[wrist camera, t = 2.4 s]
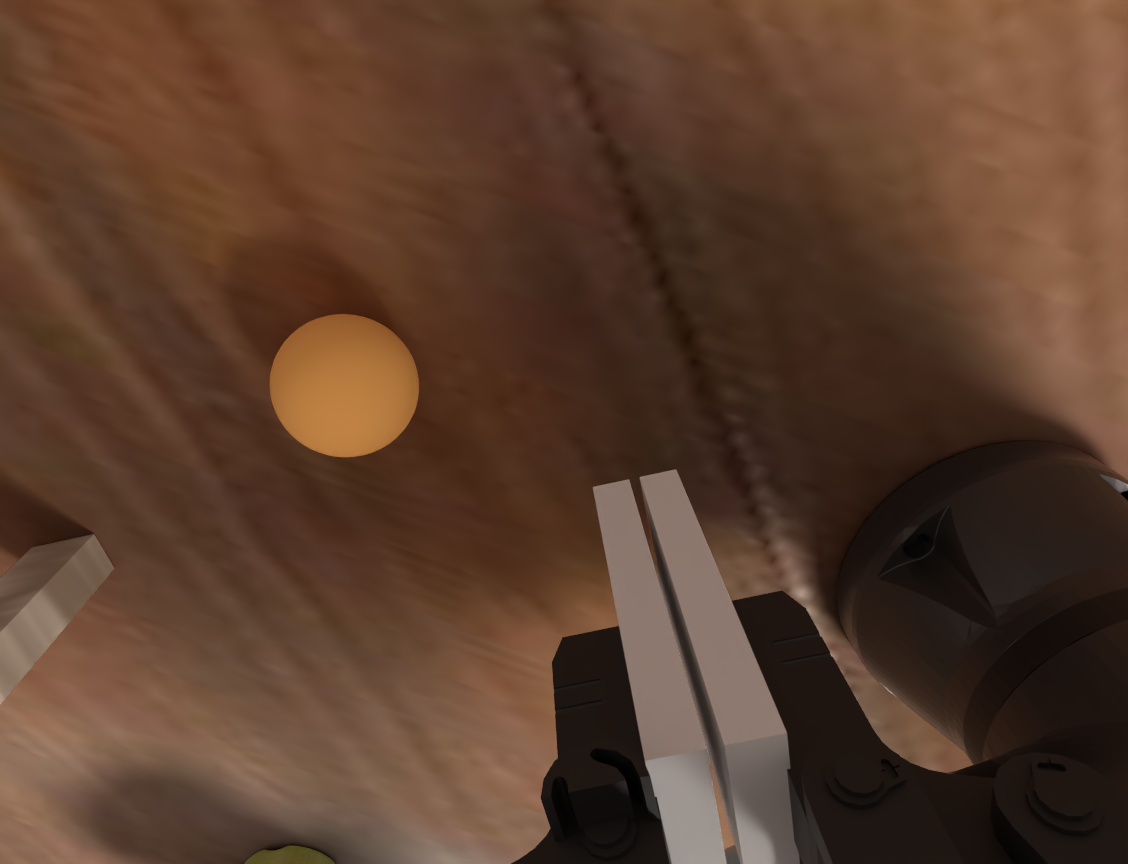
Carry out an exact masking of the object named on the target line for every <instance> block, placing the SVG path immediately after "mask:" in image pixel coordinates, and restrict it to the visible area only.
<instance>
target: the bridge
mask: <svg viewBox="0 0 1128 864" xmlns="http://www.w3.org/2000/svg"><path fill="white" fill-rule="evenodd" d="M114 569H115V568H114V566H113V565H112V563H111V561H110V560H109V558H108V556H107V555H106V553H105V551H104V550H103V548H102V547H101V545H100V543H99V542H98V540H97V538H96V537H95V535H94V534H92V535H87V536H82V537H78V538H73V539H68V540H64V541H59V542H55V543H50V544H45V545H41V546H36V547H32V548H31V549H30V550H29V551H28V552H27V553H26V554H24V555H23V556H22V557H21V558H20V559H19V560H18V561H17V562H16V563H15V564H14V565H13V566H12V567H11V568H10V569H9V570H8V571H6V572H5V573H4V574H3V575H2V576H1V577H0V704H1V703H2V702H3V701H4V700H5V698H6V697H7V696H8V695H9V694H10V693H11V691H12V690H13V689H14V688H15V687H16V685H17V684H18V683H19V682H20V681H21V679H22V678H23V677H24V676H25V675H26V673H27V672H28V671H29V670H30V669H31V668H32V666H33V665H34V664H35V663H36V662H37V660H38V659H39V658H40V657H41V656H42V654H43V653H44V652H45V651H46V650H47V648H48V647H49V646H50V645H51V644H52V643H53V641H54V640H55V639H56V638H57V637H58V635H59V634H60V633H61V632H62V631H63V629H64V628H65V627H66V626H67V625H68V624H69V622H70V621H71V620H72V619H73V618H74V616H75V615H76V614H77V613H78V612H79V610H80V609H81V608H82V607H83V606H84V604H85V603H86V602H87V601H88V600H89V599H90V597H91V596H92V595H93V594H94V593H95V591H96V590H97V589H98V588H99V587H100V585H101V584H102V583H103V582H104V581H105V579H106V578H107V577H108V576H109V575H110V574H111V572H112V571H113V570H114Z"/></svg>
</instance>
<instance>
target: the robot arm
mask: <svg viewBox="0 0 1128 864" xmlns="http://www.w3.org/2000/svg"><path fill="white" fill-rule="evenodd" d="M640 482H641V488H642V493H643V498H644V504H645V509H646V514H647V520H648V525H649V530H650V536H651V541H652V546H653V552H654V557H655V562H656V568H657V573H658V578H659V581H658V578H657V574H656V571H655V567H654V564H653V560H652V557H651V553H650V550H649V547H648V543H647V540H646V536H645V533H644V529H643V526H642V522H641V519H640V515H639V512H638V508H637V505H636V501H635V498H634V494H633V491H632V488H631V484H630V481H629V479H628V480H623V481H618V482H614V483H609V484H604V485H600V486H595V487H593V492H594V497H595V502H596V508H597V513H598V518H599V523H600V529H601V534H602V539H603V544H604V550H605V555H606V560H607V565H608V571H609V576H610V581H611V586H612V592H613V597H614V602H615V607H616V613H617V618H618V623H619V626H617V627H612V628H607V629H602V630H597V631H592V632H588V633H583V634H578V635H573V636H568V637H563V638H562V640H561V643H560V645H559V647H558V650H557V652H556V654H555V657H554V659H553V661H552V669H553V685H554V692H555V693H554V701H555V711H556V714H555V717H556V734H557V750H558V759H557V760H556V761H554V763H553V765H552V766H551V768H550V770H549V771H548V773H547V775H546V776H545V778H544V781H543V788H542V794H541V800H542V803H543V806H544V809H545V812H546V815H547V818H548V821H549V824H550V827H551V829H550V830H549V832H548V834H547V835H546V837H545V838H544V839H543V840H542V841H541V842H540V843H539V844H538V845H537V846H536V848H535V849H533V850H532V851H530V852H529V853H528V854H526V855H525V856H523V857H522V858H520V859H519V860H517V861H515V862H513V863H512V864H1128V480H1127V479H1126V478H1124V477H1123V476H1121V475H1120V474H1118V473H1117V472H1115V471H1114V470H1112V469H1110V468H1109V467H1107V466H1106V465H1104V464H1103V463H1101V462H1100V461H1098V460H1096V459H1095V458H1093V457H1091V456H1090V455H1088V454H1086V453H1084V452H1082V451H1080V450H1077V449H1074V448H1072V447H1069V446H1065V445H1061V444H1056V443H1051V442H1042V441H1013V442H1004V443H998V444H992V445H987V446H983V447H979V448H976V449H973V450H969V451H966V452H963V453H961V454H958V455H955V456H953V457H951V458H948V459H946V460H944V461H942V462H940V463H938V464H936V465H934V466H932V467H930V468H928V469H927V470H925V471H923V472H922V473H920V474H918V475H917V476H915V477H914V478H912V479H911V480H909V481H908V482H907V483H905V484H904V485H903V486H901V487H900V488H899V489H898V490H896V491H895V492H894V493H893V494H892V495H890V496H889V497H888V498H887V499H886V500H885V501H884V502H883V503H882V504H881V505H880V506H879V507H878V508H877V509H876V510H875V511H874V512H873V514H872V515H871V516H870V517H869V518H868V520H867V521H866V522H865V524H864V525H863V526H862V528H861V529H860V531H859V532H858V534H857V535H856V537H855V539H854V540H853V542H852V544H851V546H850V548H849V550H848V552H847V554H846V557H845V559H844V562H843V565H842V568H841V572H840V575H839V581H838V587H837V607H838V614H839V619H840V622H841V625H842V628H843V630H844V632H845V634H846V636H847V638H848V640H849V641H850V643H851V645H852V646H853V648H854V649H855V651H856V653H857V654H858V656H859V658H860V659H861V661H862V663H863V664H864V666H865V667H866V669H867V670H868V671H869V672H870V674H871V675H872V676H873V677H874V678H875V679H876V680H877V682H879V683H880V684H881V685H882V686H883V687H884V688H885V689H887V690H888V691H889V692H890V693H892V694H893V695H894V696H896V697H897V698H899V699H900V700H901V701H902V702H903V703H905V704H906V705H907V706H908V707H909V708H910V709H912V710H913V711H914V712H915V713H917V714H918V715H919V716H920V717H922V718H923V719H924V720H925V721H926V722H928V723H929V724H930V725H931V726H933V727H934V728H935V729H937V730H938V731H939V732H940V733H942V734H943V735H944V736H945V737H947V738H948V739H949V740H950V741H952V742H953V743H954V744H955V745H957V746H958V747H959V748H960V749H962V750H963V751H964V752H965V753H966V755H967V756H968V757H969V759H970V760H971V762H972V763H973V764H974V765H972V766H969V767H966V768H963V769H960V770H958V771H955V772H949V773H942V772H937V771H932V770H928V769H925V768H923V767H920V766H917V765H915V764H912V763H910V762H908V761H907V760H905V759H903V758H902V757H900V756H899V755H898V754H897V753H895V752H893V751H892V750H891V749H889V748H888V747H887V746H886V745H885V744H884V743H883V742H882V741H881V740H880V738H879V737H878V736H877V734H876V733H875V731H874V730H873V728H872V727H871V725H870V723H869V721H868V719H867V718H866V716H865V714H864V712H863V710H862V709H861V707H860V705H859V703H858V701H857V700H856V698H855V696H854V694H853V692H852V691H851V689H850V687H849V685H848V684H847V682H846V680H845V678H844V676H843V675H842V673H841V671H840V669H839V667H838V666H837V664H836V662H835V660H834V658H833V657H831V655H830V651H829V649H828V648H827V646H826V644H825V642H824V640H823V639H822V637H820V635H819V631H818V630H817V628H816V626H815V624H814V622H813V621H812V619H811V617H810V615H809V613H808V612H807V610H806V608H804V607H803V606H802V605H800V604H799V603H798V602H796V601H795V600H794V599H793V598H791V597H790V596H789V595H787V594H786V593H785V592H783V591H778V592H773V593H768V594H763V595H758V596H754V597H749V598H744V599H739V600H734V601H731V599H730V596H729V594H728V591H727V589H726V587H725V584H724V582H723V579H722V577H721V575H720V572H719V570H718V568H717V565H716V563H715V560H714V558H713V556H712V553H711V551H710V549H709V546H708V544H707V541H706V539H705V537H704V534H703V532H702V529H701V527H700V525H699V522H698V520H697V518H696V515H695V513H694V510H693V508H692V506H691V503H690V501H689V499H688V496H687V494H686V491H685V489H684V487H683V484H682V482H681V479H680V477H679V475H678V472H677V470H676V469H675V470H670V471H665V472H661V473H656V474H651V475H647V476H642V477H640ZM659 583H660V585H659ZM660 587H661V588H660ZM661 590H662V592H661ZM662 594H663V595H662ZM663 597H664V599H663ZM664 601H665V602H664ZM665 604H666V605H665ZM666 608H667V609H666ZM667 611H668V612H667ZM668 614H669V616H668ZM669 618H670V619H669ZM670 621H671V623H670ZM671 625H672V626H671ZM672 628H673V630H672ZM673 632H674V633H673ZM674 635H675V637H674ZM675 639H676V640H675ZM676 642H677V644H676ZM677 646H678V647H677ZM678 649H679V651H678ZM679 652H680V654H679ZM680 656H681V658H680ZM681 659H682V661H681ZM682 663H683V664H682ZM683 666H684V668H683ZM684 670H685V671H684ZM685 673H686V675H685ZM686 677H687V678H686ZM687 680H688V682H687ZM688 684H689V685H688ZM689 687H690V689H689ZM690 691H691V692H690ZM691 694H692V696H691ZM692 697H693V699H692ZM693 701H694V703H693ZM694 704H695V706H694ZM695 708H696V710H695ZM696 711H697V713H696ZM697 715H698V717H697ZM698 718H699V720H698ZM699 722H700V723H699ZM700 725H701V727H700ZM701 729H702V730H701ZM702 732H703V734H702ZM703 736H704V737H703ZM704 739H705V741H704ZM705 742H706V744H705ZM706 746H707V748H706ZM707 749H708V753H709V756H710V760H711V763H712V767H713V770H714V774H715V777H716V781H717V784H718V787H719V791H720V794H721V798H722V801H723V805H724V808H725V812H726V815H727V819H728V822H729V825H730V829H731V832H732V836H733V839H734V843H735V845H734V846H731V847H729V848H726V849H724V845H723V840H722V834H721V828H720V822H719V816H718V811H717V805H716V799H715V793H714V788H713V782H712V776H711V770H710V764H709V759H708V753H707Z"/></svg>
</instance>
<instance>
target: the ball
mask: <svg viewBox="0 0 1128 864" xmlns="http://www.w3.org/2000/svg"><path fill="white" fill-rule="evenodd" d="M270 395H271V400H272V404H273V407H274V410H275V412H276V414H277V416H278V418H279V420H280V421H281V423H282V424H283V426H284V427H285V429H286V430H287V431H288V432H289V433H290V434H291V435H292V436H293V437H294V438H295V439H296V440H297V441H299V442H300V443H302V444H303V445H305V446H306V447H308V448H310V449H312V450H314V451H316V452H319V453H322V454H325V455H330V456H335V457H356V456H362V455H366V454H370V453H372V452H375V451H377V450H379V449H381V448H383V447H385V446H386V445H388V444H390V443H391V442H392V441H393V440H395V439H396V438H397V437H398V436H399V435H400V434H401V433H402V432H403V431H404V429H405V428H406V427H407V425H408V424H409V422H410V420H411V418H412V416H413V414H414V412H415V409H416V406H417V401H418V396H419V378H418V372H417V368H416V365H415V362H414V360H413V357H412V355H411V353H410V352H409V350H408V348H407V347H406V346H405V344H404V343H403V342H402V341H401V340H400V338H399V337H398V336H397V335H396V334H395V333H393V332H392V331H391V330H390V329H388V328H387V327H385V326H384V325H382V324H380V323H378V322H376V321H374V320H372V319H369V318H366V317H362V316H357V315H351V314H334V315H328V316H324V317H321V318H317V319H314V320H312V321H310V322H308V323H306V324H304V325H303V326H301V327H300V328H298V329H297V330H296V331H295V332H293V333H292V334H291V335H290V336H289V337H288V338H287V339H286V341H285V342H284V343H283V344H282V346H281V348H280V349H279V351H278V353H277V354H276V357H275V359H274V362H273V365H272V369H271V373H270Z"/></svg>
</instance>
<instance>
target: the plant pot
mask: <svg viewBox="0 0 1128 864" xmlns="http://www.w3.org/2000/svg"><path fill="white" fill-rule="evenodd" d="M244 864H335V863H334V862H333V861H332V860H331V859H330V858H329V857H327V856H326V855H324V854H322V853H320V852H318V851H315V850H313V849H310V848H306V847H301V846H291V845H290V846H286V847H284V848H282V849H279V850H274V851H268V850H266V849H264V850H261V851H259V852H257V853H255V854H254V855H252V856H251V857H250V858H249V859H248V860H247V861H246V862H245V863H244Z"/></svg>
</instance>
